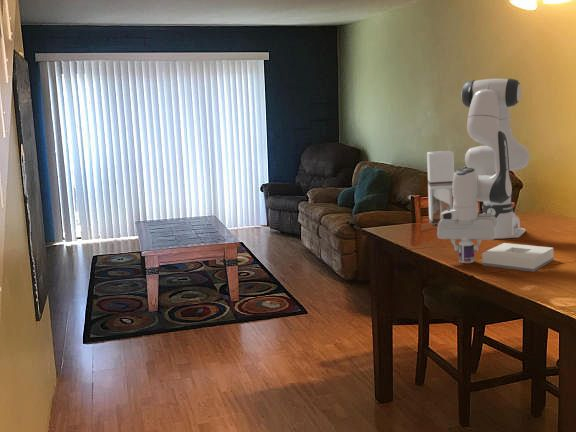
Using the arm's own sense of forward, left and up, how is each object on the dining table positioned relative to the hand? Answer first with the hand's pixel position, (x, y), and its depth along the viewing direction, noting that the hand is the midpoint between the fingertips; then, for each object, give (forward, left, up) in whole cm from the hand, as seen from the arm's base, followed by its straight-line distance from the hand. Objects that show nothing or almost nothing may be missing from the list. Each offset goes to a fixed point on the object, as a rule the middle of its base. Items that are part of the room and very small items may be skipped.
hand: (466, 250), depth 212 cm
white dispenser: (-63, -45, -4) cm, 77 cm away
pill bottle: (0, 0, -4) cm, 4 cm away
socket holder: (-7, +16, -4) cm, 18 cm away
